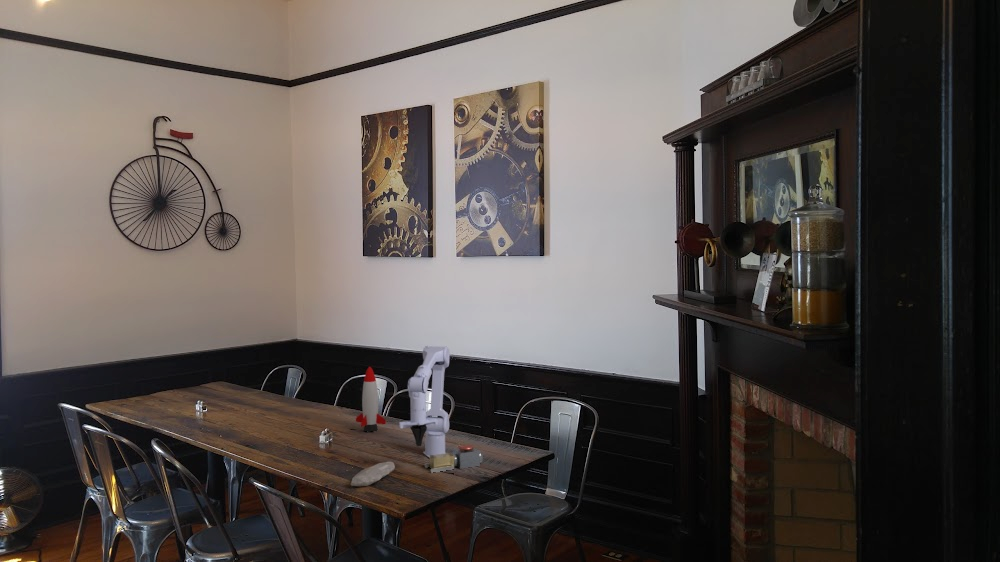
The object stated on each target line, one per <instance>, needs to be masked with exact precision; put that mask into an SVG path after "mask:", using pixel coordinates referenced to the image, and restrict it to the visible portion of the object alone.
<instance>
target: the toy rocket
mask: <svg viewBox="0 0 1000 562" xmlns="http://www.w3.org/2000/svg"><path fill="white" fill-rule="evenodd" d="M378 392H379V391H378V385H377V380H376V375H375V372H374V370H373V368H372V367H371V366H369V367H368V368H367V369H366V371H365V375H364V379H363V385H362V396H361V401H362V402H361V404H362V405H361V407H362V413H361V414H359V415H357V416H356V417H355V422H357V423H360V426H361V427H362V428H363V432H364V431H368V432H367V433H371V432H370V431H376V432H378V431H379V429H378V425H386V423H387V421H386V419H385V418H384V417H383V416H382V415H380V414H379V393H378ZM377 430H378V431H377Z"/></svg>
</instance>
